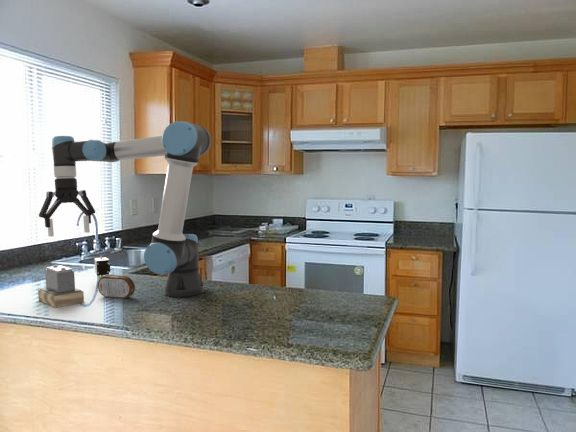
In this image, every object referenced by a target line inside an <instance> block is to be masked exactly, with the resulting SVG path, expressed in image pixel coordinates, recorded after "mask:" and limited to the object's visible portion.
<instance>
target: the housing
mask: <svg viewBox="0 0 576 432" xmlns="http://www.w3.org/2000/svg"><path fill="white" fill-rule="evenodd" d="M44 273H45V288H46V289H49V290H51V291H53V292H56V293H63V292H69V291H75V288H76V283H75V282H76V281H75V280H76V279H75V271H74V270H73V268H72V267H68V266H64V265H58V264H54V265H52V266H47V267H46V269H44Z"/></svg>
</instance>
